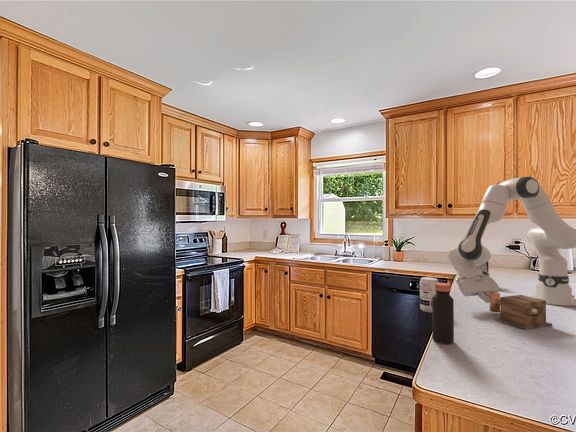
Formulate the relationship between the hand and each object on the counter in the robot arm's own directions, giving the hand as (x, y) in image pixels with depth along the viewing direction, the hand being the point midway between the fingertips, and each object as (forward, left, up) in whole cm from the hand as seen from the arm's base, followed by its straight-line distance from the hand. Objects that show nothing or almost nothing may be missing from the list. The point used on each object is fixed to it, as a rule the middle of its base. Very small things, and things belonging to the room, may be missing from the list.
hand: (489, 302), depth 144 cm
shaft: (+4, +10, -3) cm, 11 cm away
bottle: (+50, +3, -5) cm, 51 cm away
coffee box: (-61, -27, -5) cm, 67 cm away
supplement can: (+18, -19, -5) cm, 27 cm away
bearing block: (+5, +14, -5) cm, 16 cm away
